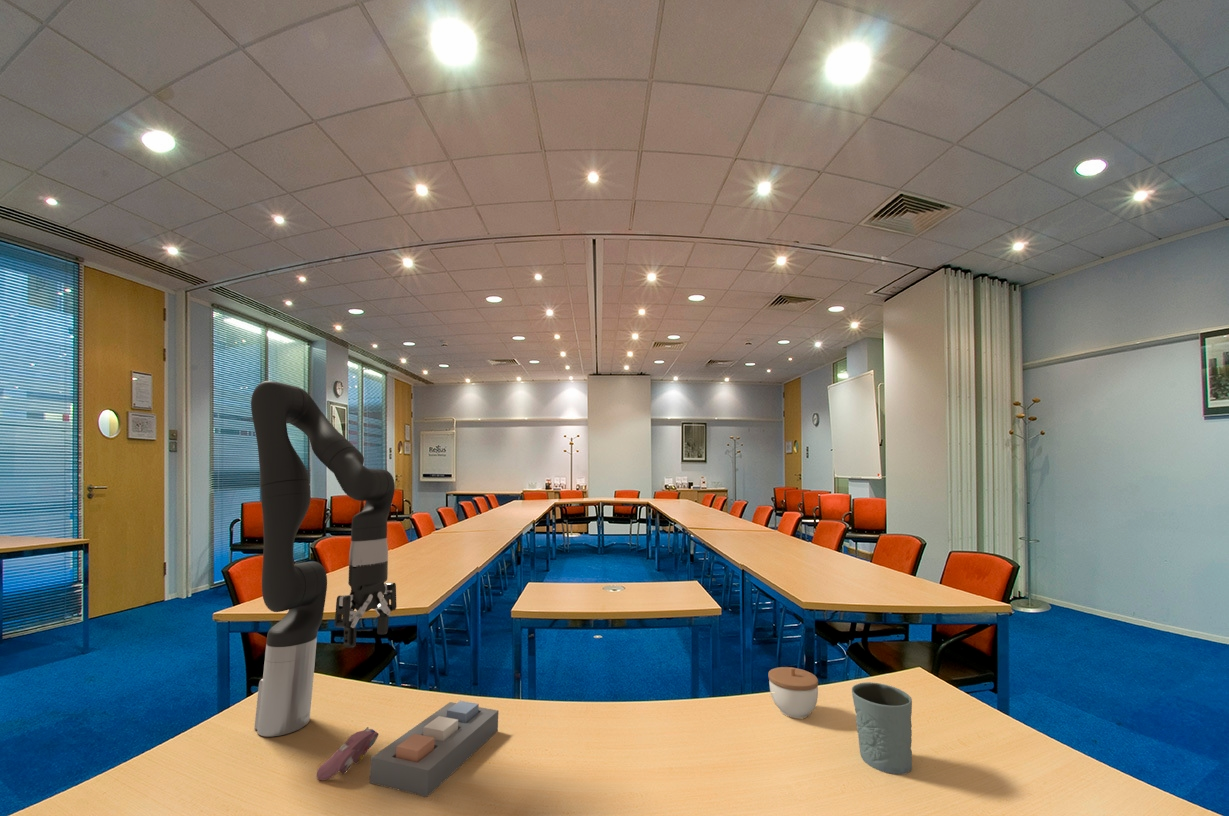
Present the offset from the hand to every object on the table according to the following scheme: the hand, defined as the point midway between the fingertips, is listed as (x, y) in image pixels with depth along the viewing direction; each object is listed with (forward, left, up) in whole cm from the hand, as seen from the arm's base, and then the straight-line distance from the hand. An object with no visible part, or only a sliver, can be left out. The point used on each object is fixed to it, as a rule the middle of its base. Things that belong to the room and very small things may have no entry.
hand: (366, 640), depth 102 cm
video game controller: (+7, -10, -19) cm, 22 cm away
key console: (+20, -1, -18) cm, 27 cm away
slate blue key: (+20, +6, -15) cm, 26 cm away
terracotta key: (+20, -8, -15) cm, 27 cm away
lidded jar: (+86, +38, -18) cm, 96 cm away
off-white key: (+20, -1, -15) cm, 26 cm away
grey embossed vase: (+101, +23, -18) cm, 106 cm away
